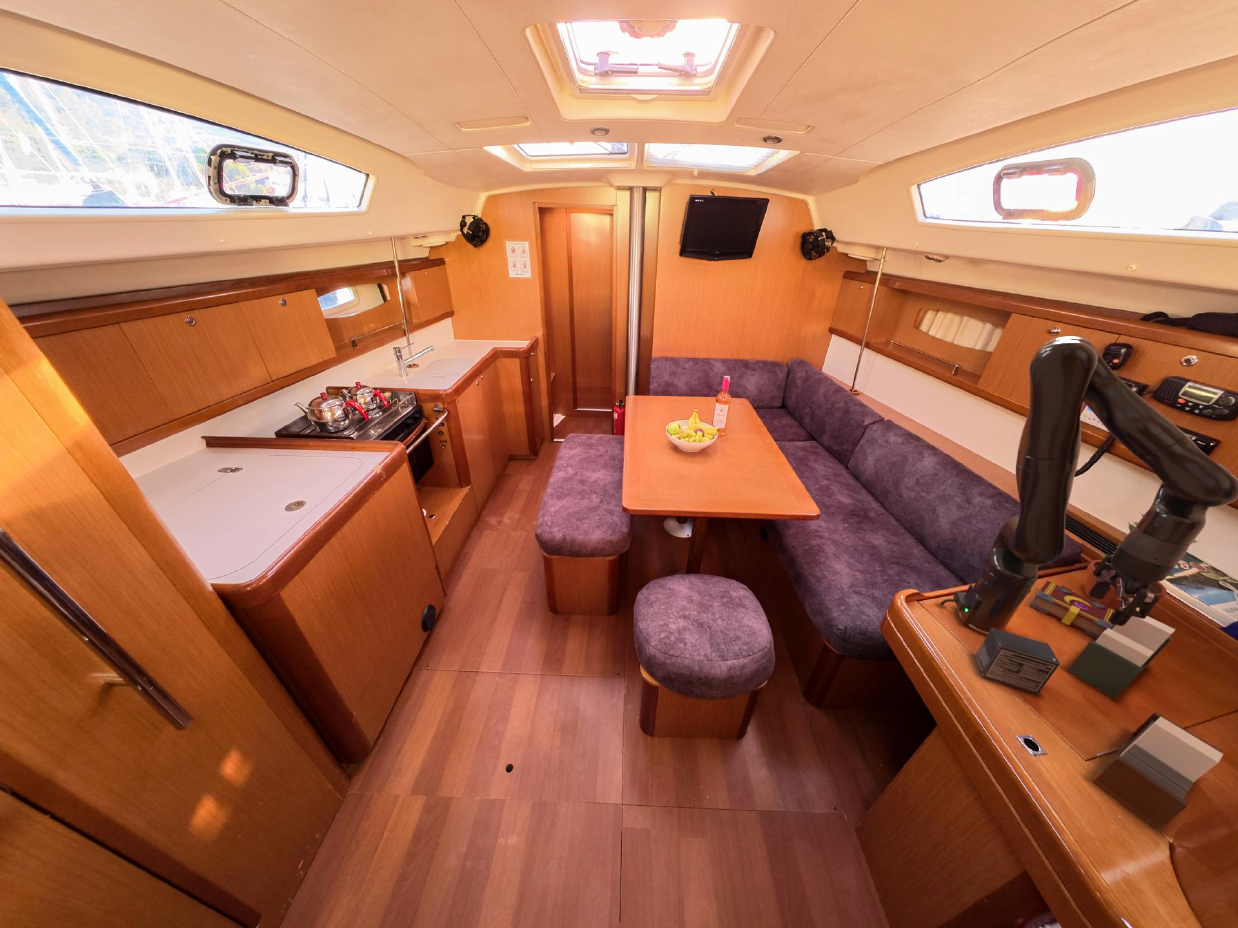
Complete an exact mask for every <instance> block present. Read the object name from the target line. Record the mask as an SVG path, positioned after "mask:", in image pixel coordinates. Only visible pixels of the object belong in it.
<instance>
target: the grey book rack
mask: <svg viewBox="0 0 1238 928" xmlns="http://www.w3.org/2000/svg"><path fill="white" fill-rule="evenodd" d="M1160 717H1162V718H1164V719H1166V720H1167V721H1169V722H1171V723H1172V724H1174V725H1176V726H1177V727H1179V728H1181V729H1182V730H1184V731H1186V732H1187V733H1189V734H1191V735H1192V736H1194V737H1196V738H1197V739H1199V740H1201V741H1202V742H1204V743H1206V744H1207V745H1209V746H1211V747H1212V748H1214V749H1216V750H1217V751H1219V752H1221V753H1222V750H1221V749H1219V748H1217V747H1215V746H1214V745H1212V744H1211V743H1209V742H1207V741H1205V740H1204V739H1202V738H1200V737H1199V736H1197V735H1195V734H1193V733H1192V732H1191V731H1189V730H1187V729H1186V728H1184V727H1182V726H1180V724H1177V723H1176V722H1174V721H1172V720H1170V719H1169V718H1167V717H1165V716H1164V715H1162V714H1161V713H1159V712H1157V711H1154V712H1153V713H1151V715H1150V716H1148V718H1147V719H1146V720H1144V722H1142V723H1141V724H1140V726H1138V727H1137V728H1136V729H1135V730H1133V732H1132V733H1131V734H1130V735H1129V737H1128V738H1127V739H1126V740H1125V741H1124V743H1123V744H1122V745H1121V746H1120V747H1119V749H1118V750H1117V751H1116V752H1115V753H1114V754H1113V756H1112V757H1111V758H1110V760H1108V762H1107V763H1106V764H1105V765H1104V766H1103V768H1102V769H1101V770H1100V772H1098V774H1097V775H1096V776H1095V777H1094V779H1092V783H1093V784H1095V785H1096V786H1098V787H1099V789H1102V790H1103V791H1104V792H1105V793H1107V795H1109V796H1111V797H1112V798H1113V799H1115V800H1116V801H1117V802H1119V803H1120V804H1122V806H1124V807H1125V808H1126V809H1128V810H1129V811H1130V812H1132V813H1133V814H1134V815H1136V816H1137V817H1138V818H1140V820H1142V821H1143V822H1145V823H1147V824H1148V825H1149V826H1150V827H1151V828H1153V829H1154V830H1156V831H1158V830H1160V829H1161V828H1162V827H1164V825H1165V824H1167V823H1168V822H1170V821H1171V820H1172V819H1174V818H1175V817H1177V815H1179V814H1181V813H1182V812H1184V810H1186V809H1187V808H1188V807H1189V805H1190V803H1189V802H1187V801H1186V800H1185V797H1186V796H1187V794H1188V793H1189V791H1190V790H1191V788H1192V786H1193V784H1194V782H1192V781H1190V780H1189V779H1187V778H1186V777H1184V776H1183V775H1181V774H1180V773H1178V772H1177V771H1175V770H1174V769H1172V768H1170V767H1169V766H1167V765H1166V764H1164V763H1163V762H1161V761H1160V760H1158V759H1157V758H1155V757H1154V756H1152V755H1151V754H1149V753H1148V752H1146V751H1145V750H1143V749H1142V748H1140V747H1139V746H1137V745H1136V744H1133V745H1132V746H1131V747H1130V748H1129V749H1128V750H1127V751H1126V752H1125V753H1124V754H1123V755H1122V756H1120V755H1121V754H1122V753H1123V752H1124V751H1125V750H1126V749H1127V748H1128V747H1129V746H1130V745H1131V744H1132V743H1133V742H1134V741H1135V740H1136V739H1138V738H1139V737H1140V736H1141V735H1142V734H1143V733H1144V732H1145V731H1146V730H1147V729H1148V728H1149V727H1150V726H1151V725H1152V724H1153V723H1154V722H1155V721H1156V720H1158V719H1159V718H1160Z"/></svg>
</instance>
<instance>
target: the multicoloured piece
mask: <svg viewBox="0 0 1238 928" xmlns="http://www.w3.org/2000/svg"><path fill="white" fill-rule="evenodd" d="M1175 631H1176V628H1173V627H1171V626H1169V625H1167V624H1165V623H1163V622H1161V621H1160V620H1157V619H1155V618H1152V617H1150V616H1148V615H1147V616H1146V618H1145V619H1141V618H1138V617H1134V616H1132V617H1131V618H1130V619H1129V621H1128V622H1126V624H1125V625H1124V626H1119V625H1115V624H1114V625H1113V626H1112V627H1111V628H1110V629H1109V628H1108V629H1106V630H1105V631H1104V632H1103V633H1102V634H1101V635H1100V637H1099V638H1098V639H1097V638H1096V640H1095V641H1094V640H1090V641H1089V643H1088V644H1087V645H1086V646H1085V648H1083V650H1082V651H1081V653H1080V654H1079V655H1078V656H1077V657H1076V659H1075V660H1074V661H1073V662H1072V664H1071V665H1070V666H1069V667H1068V668H1067V670H1066V671H1067V672H1069V673H1070V674H1072V675H1073V676H1075V677H1078V678H1079V679H1080V680H1082V681H1083V682H1086V683H1087V684H1088V685H1090V686H1092V687H1093V688H1095V689H1096V690H1097V691H1100V692H1102V693H1103V694H1104V695H1106V696H1108V697H1109V698H1110V699H1113V700H1116V699H1117V698H1118V697H1119V696H1120V695H1121V694H1122V693H1123V692H1124V691H1125V690H1126V688H1128V686H1129V685H1130V684H1131V683H1132V682H1133V681H1134V680H1135V679H1136V678H1137V677H1138V676H1139V675H1140V674H1141V673H1142V672H1143V671H1144V670H1145V669H1146V668H1147V666H1148V665H1149V664H1150V663H1151V662H1152V661H1153V660H1154V659H1155V657H1156V656H1157V655H1158V654H1159V653H1160V652H1161V651H1162V650H1163V649H1164V648H1165V647H1166V646H1167V645H1168V644H1169V643H1170V642H1171V640H1172V639H1173V638H1172V637H1171V635H1172V634H1173V633H1174V632H1175Z"/></svg>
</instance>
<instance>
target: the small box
mask: <svg viewBox="0 0 1238 928" xmlns="http://www.w3.org/2000/svg"><path fill="white" fill-rule="evenodd" d="M973 658H974V661H975V664H976V667H977V670H978V672H979V675H980V676H981V677H982V678H984V679H986V680H990V681H994V682H996V683H998V684H999V683H1000V684H1002V685H1006V686H1009V687H1011V688H1014V689H1019V690H1021V691H1024V692H1028V693H1030V694H1034V695H1036V696H1037V695H1039V694H1040V693H1041V691H1042V690H1043V688H1044V687H1045V686H1046V684H1047V683H1048V681H1049V680H1050V679H1051V677H1052V676H1053V674H1054V673H1055V671H1056V670H1057V669H1058V667H1060V666H1061V662H1060V661H1059V659H1058V657H1057V656H1056V654H1055V652H1054V650H1053V649H1052V648H1051V646H1050V645H1049V643H1047V642H1044V641H1041V640H1037V639H1034V638H1031V637H1027V636H1023V635H1019V634H1015V633H1012V632H1010V631H1009V632H1008V631H1005V630H1004V631H1002V630H998V629H995V628H991V630H990V632H989V633H988V635H986V636H985V638H984V640H983V641H982V643H981V645H980V646H979V648H978V650H977V651H976V653H975V655H974V656H973Z"/></svg>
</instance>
